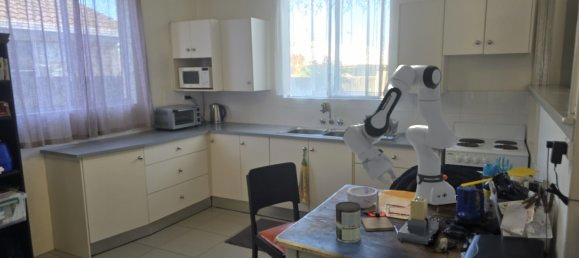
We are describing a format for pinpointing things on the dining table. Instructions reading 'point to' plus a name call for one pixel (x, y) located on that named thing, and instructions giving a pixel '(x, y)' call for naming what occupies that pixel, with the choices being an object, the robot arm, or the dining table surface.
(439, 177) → the robot arm
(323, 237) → the dining table surface
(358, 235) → the coffee can
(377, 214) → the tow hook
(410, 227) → the vise
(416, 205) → the pale yellow block
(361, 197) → the white bowl
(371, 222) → the walnut board
